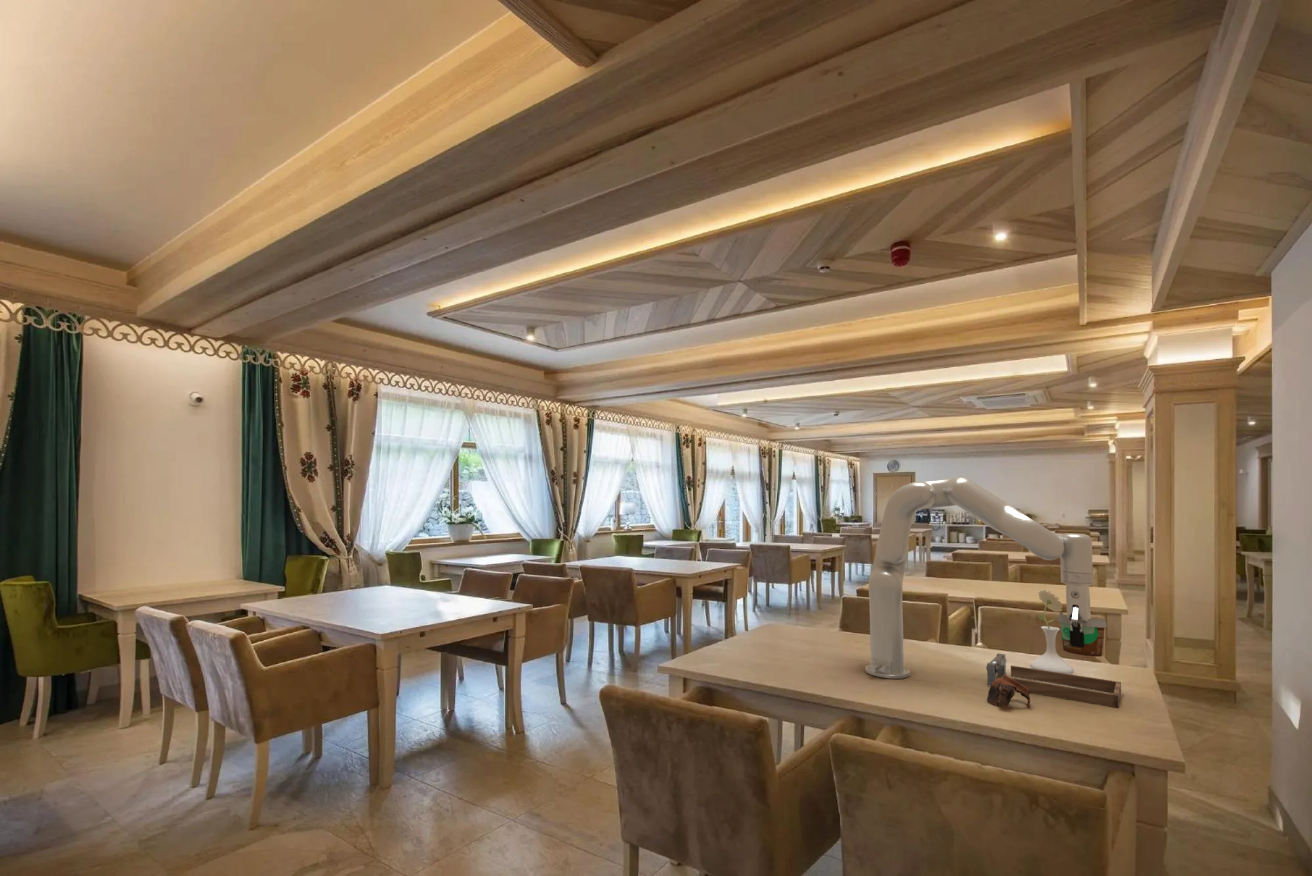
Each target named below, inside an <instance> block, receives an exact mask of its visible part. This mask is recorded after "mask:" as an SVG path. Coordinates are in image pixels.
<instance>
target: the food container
mask: <svg viewBox="0 0 1312 876" xmlns="http://www.w3.org/2000/svg"><path fill="white" fill-rule="evenodd" d="M1081 619H1082V618H1079V617H1078V623H1079V624H1080V623H1081V624H1082V627H1083V633H1084V647H1083V648H1082V647H1075V646H1071V645H1070V620H1071V616H1070V620H1069V619H1068V618H1067V615H1066V614H1063V611H1060V612H1059V614H1058V616H1057V619H1056V620H1057V622H1059V623H1060V624H1059V625H1060V632H1061V642H1062V649H1063V651H1064V652H1067V653H1068V654H1069V653H1070V654H1075V655H1079V656H1086V657H1095V658H1096V657H1097V658H1098V657H1103V649H1104V646H1103V645H1104V637H1105V629H1106V628H1108V624H1107V621H1106V619H1097V618H1090V619H1089V621H1088V622H1085V620H1081Z"/></svg>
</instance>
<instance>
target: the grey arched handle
mask: <svg viewBox="0 0 1312 876" xmlns="http://www.w3.org/2000/svg"><path fill="white" fill-rule="evenodd" d="M1006 664H1007V658H1006V654H1004V653H997V654H996V656H995V657H994V658H993V659H992V660H991V661H989V662H988V663H986V668H985V669H986V671H987V672H986V677H987V686H988V685H990V686H991V684H992V683H993V682H994V680H996V679H998V678H997V677H998V676H1001V675H1003V674H1004V675H1007V665H1006ZM997 674H999V675H997ZM990 686H989V687H990Z"/></svg>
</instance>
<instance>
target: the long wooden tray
mask: <svg viewBox="0 0 1312 876" xmlns="http://www.w3.org/2000/svg"><path fill="white" fill-rule="evenodd" d="M1012 676H1014V677H1012ZM1010 677H1011V678H1012V679H1014V680H1015V681H1017V682H1018V683H1020V684H1022V685H1023V686H1025V687H1026V688H1028V689H1030V691H1031V693H1030V694H1034V693H1035V695H1042V696H1046V697H1053V698H1059V699H1064V698H1065V699H1064V700H1070V701H1075V700H1077V701H1076V702H1081V701H1082V703H1087V702H1088V704H1093V705H1098V704H1100V706H1103V707H1104V706H1105V707H1110V708H1117V709H1119V706H1120V703H1121V702H1120V701H1121V697H1122V682H1121V681H1117V680H1110V679H1104V678H1097V677H1089V676H1083V675H1078V674H1065V673H1058V672H1052V671H1045V670H1038V669H1032V668H1030V667H1025V666H1017V665H1010ZM1018 677H1021V678H1018ZM1000 678H1002V676H1001V675H1000ZM1025 678H1026V679H1025ZM1031 679H1033V680H1031ZM1037 680H1038V681H1037ZM1043 681H1045V682H1043ZM1081 687H1082V688H1081ZM1093 689H1095V690H1093ZM1105 691H1107V692H1105Z"/></svg>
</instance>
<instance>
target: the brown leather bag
mask: <svg viewBox="0 0 1312 876" xmlns="http://www.w3.org/2000/svg"><path fill="white" fill-rule="evenodd" d="M1012 678H1013V677H1011V676H1008V675H1007V674H1006V675H1004V674H1003V676H1002V678H1001V677H999V678H997V679H996V680H994V682H993V683H992V684H991V686H989V689H988V692H987V698H986V699H987V702H989V703H990V704H992V705H994V706H996V707H998V702H999V703H1000V704H1001V705H1002V706H1010V703H1011V700H1012V698H1014V695H1015V694H1016V693H1018V694H1020V696H1022V697H1024V698H1025V699H1026V700H1027V702H1026V707H1027V708H1029V707H1030V704H1031V696H1030V694H1032V693H1031V691H1030V689H1028V688H1026V687H1025V686H1023V685H1022V684H1020V683H1018V682H1017V681H1015V680H1014V679H1012ZM1000 687H1001V688H1000Z"/></svg>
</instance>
